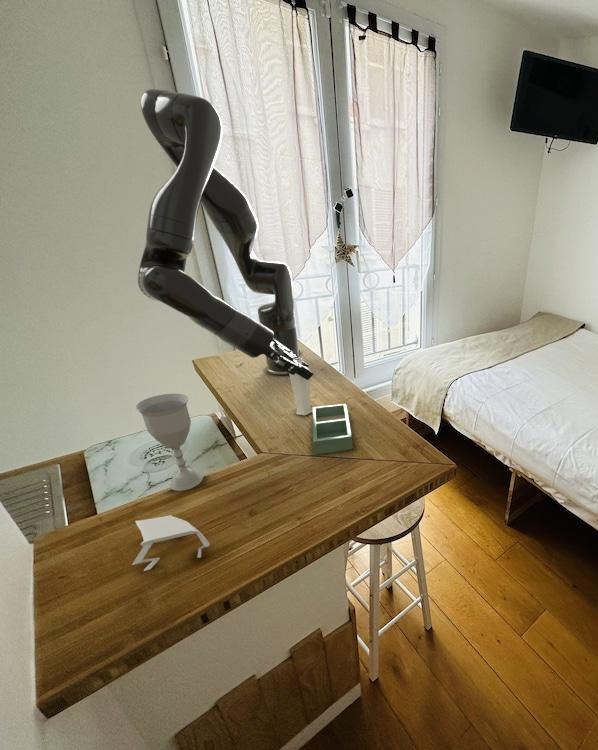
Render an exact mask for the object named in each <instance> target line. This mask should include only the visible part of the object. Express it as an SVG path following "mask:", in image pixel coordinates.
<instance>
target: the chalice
mask: <svg viewBox="0 0 598 750" xmlns="http://www.w3.org/2000/svg"><path fill="white" fill-rule="evenodd" d="M188 402H189V397H188V396H187V395H185V394H183V393H164V394H158V395H154V396H150V397H148V398H145V399H142V400H141V401H140V402H138V403H137V404H136V405H135V410H136V411H137V412H138V413H140V414H141V416H142V420H143V422H144V425H145V428H146V431H147V433H149V435H150V436H152V438H154V439H155V440H156V441H157V442H158V443H160V444H161V445H162V446H164V447H165V448H167V449H173V454H172V457H174V458H175V459H176V461H175V462H174V464H175V465H176V466H178V470H177V471H176V472H175V473H174V474H173V476H172V480H171V483H170V489H171V490H174V491H175V492H176V491H179V492H182V491H187V490H191V489H193V488H194V487H195V488H196V487H197V486H199V484H201V482H202V481H203V479H204V477H203V475H202V474H201V473H200V472H199V471H197V470H196V469H195V468H192V467H187V466H186V464H187V462H188V460H187V459H186V458H184V454H185V452H184V451H183V450H182V449H181V446H183V445H184V444H185V443H186V441H187V438H188V435H189V433H190V429H191V425H192V421H191V417H190V413H189V410H188V406H187V405H188Z"/></svg>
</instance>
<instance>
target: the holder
mask: <svg viewBox="0 0 598 750" xmlns="http://www.w3.org/2000/svg"><path fill="white" fill-rule="evenodd" d="M311 409H312V412H311V415H312V445H313V452H314V455H315V456H317V455H323V454H330V453H335V452H336V453H337V452H342V451H348V450H354V447H353V434H352V429H351V423H350V422H351V421H350V417H349V410H348V405H347V403H339V404H338V403H337V404H330V405H323V406H322V405H321V406H313V407H311Z"/></svg>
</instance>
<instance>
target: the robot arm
mask: <svg viewBox="0 0 598 750" xmlns="http://www.w3.org/2000/svg"><path fill="white" fill-rule="evenodd" d="M140 109H141V113H142V117H143V120H144V122H145V123H146V125H147V128H148V129H149V131H150V133H151V134H152V136H153V138H155V140H156V141H157V143H158V144H159V145H160V147H161V148H162V150H163V151H164V152H165V153H166V155H167V156H168V157H169V159H170V160H171V162H172V163H173V165H175V166H176V169H175V170H174V172H173V173H172V174H171V176H170V177H169V178H168V179H167V180H166V181H165V183H164V184H163V185H162V186H161V187H160V188H159V190H158V191H157V192H156V194H155V195H154V197H153V198H152V201H151V203H150V206H149V211H148V217H147V225H146V231H145V233H146V234H145V246H144V249H143V252H142V256H141V260H140V264H139V267H138V273H137V285H138V288H139V290H140V291H141V293H142V294H143V295H144V296H145V297H147V298H149V299H151V300H153V301H155V302H160V303H162V304H164V305H166V306H167V307H170V308H172V309H173V310H175V311H177V312H179V313H181V315H182V314H183V315H184V316H186V317H188V318H189V320H190V321H192V322H193V324H196V325H197V326H199V327H201V328H202V329H204V330H206V331H208V332H209V333H211V334H213V335H214V336H215V337H217V338H218V339H220V340H221V341H222V342H224V343H226V344H227V345H229V346H231V347H233V348H234V349H236V350H238V351H239V352H241V353H243V354H245V355H247V356H248V357H250V358H253V359H254V358H258V357H259V356H262V355H264V357H265V363H266V370H267V373H269V374H271V375H275V376H285V375H289V373H290V374H292V375H294V374H295V373H296V374H298V375H300V376H301V377H303V378H305V379H306V380H309V379H311V378H312V377H313V376H314V373H313V372H312V371H311V370H310V369H309V364H308V363H306V362H305V361H304V360H302V364H303V366H306V367H307V368H308V369H309V370H308V369H307V368H305V367H303V366H302V365H301V364H300V363H298V362H296V361H295V360H294V358H300V352H301V350H300V349H299V343H298V335H297V328H296V327H297V326H296V320H295V313H294V311H295V301H294V289H293V276H292V271H291V269H290V267H289V265H288V264H287V263H285V262H280V261H271V260H261V259H260V258H258V257H257V256H256V254H255V251H254V249H253V248H254V243H255V241H256V238H257V235H258V233H259V222H258V217H257V215H256V213H255V212H254V210H253V208H252V206H251V204H250V202H249V200H248V198H247V197H246V195H245V194H244V193H243V192H242V190H240V189H239V187H238V186H237V185H235V184H234V182H232V181H231V180H230V179H229V178H228V177H227V176H226V175H224V174H223V173H222V172H221V171H219V170H218V169H217V168H216V166H214V165H215V162H216V159H217V158H218V154H219V151H220V147H221V144H222V139H223V124H222V119H221V117H220V114H219V113H218V111H217V109H216V108H215V106H214V105H213V103H211V102H210V101H208V100H207V99H205V98H203V97H201V96H198V95H192V94H189V93H188V94H187V93H182V92H177V91H172V90H166V89H159V88H151V89H147V90H145V91H144V92H143V93H142V94H141V97H140ZM200 205H201V206H202V208H203V209H204V211H205V214H206V215H207V216H208V218H209V219H210V221H211V223H212V225H213V226H214V228H215V229H216V231H217V232H218V234H219V235H220V237H221V239H222V240H223V242H224V243H225V245H226V247H227V249H228V250H229V252H230V254H231V256H232V257H233V259H234V261H235V264H236V266H237V268H238V270H239V272H240V274H241V277H242V279H243V281H244V283H245V285H246V286H247V288H249V290H250V291H251V292H253V293H257V294H261V295H273V296H274V301H273V302H268V303H265V304H262V305H261V306H259V307H258V308H257V315H258V320H256V319H255V318H253V317H252V316H250V315H249V314H247V313H245V312H243V311H241V310H239V309H238V308H236V307H234V306H232V305H231V304H230V303H228V302H226V301H225V300H223V299H222V298H220V297H219V296H216V295H215V294H213V293H212V292H211V291H209V290H208V289H207V288H206V287H204V286H203V284H201V283H199V282H198V281H197V280H195V279H194V278H193V277H192V276H190V275H189V274H187V273H185V272H186V271H185V270H186V264H187V260H188V257H189V256H190V254H192V253H191V252H192V250H193V246H194V241H195V233H196V226H197V219H198V214H199V210H200ZM293 366H294V367H293ZM291 367H293V368H291Z"/></svg>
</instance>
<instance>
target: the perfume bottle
mask: <svg viewBox="0 0 598 750" xmlns="http://www.w3.org/2000/svg"><path fill="white" fill-rule="evenodd" d="M294 360H295V361H296V362H298V363H300V364H301V365H302V366H303V364H302V361H304V360H303V358H302V357H299V358H294ZM293 367H294V366H293ZM293 367H291V368H293ZM303 367H305V368H307V367H306V366H303ZM307 369H308V370H310V369H309V367H308V368H307ZM288 375H289V379H290V383H291V388H292V392H293V396H294V401H295V405H296V413H295V414H296V415H300V416H306V415H310V414H312V407H311V387H310V386H311V385H310V384H311V382H310V379H311V378H310V379H309V380H306V379H305V378H303V377H301V376H300V375H298V374H296V373H295V374H294V375H292V374H290V373H289V374H288Z"/></svg>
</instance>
